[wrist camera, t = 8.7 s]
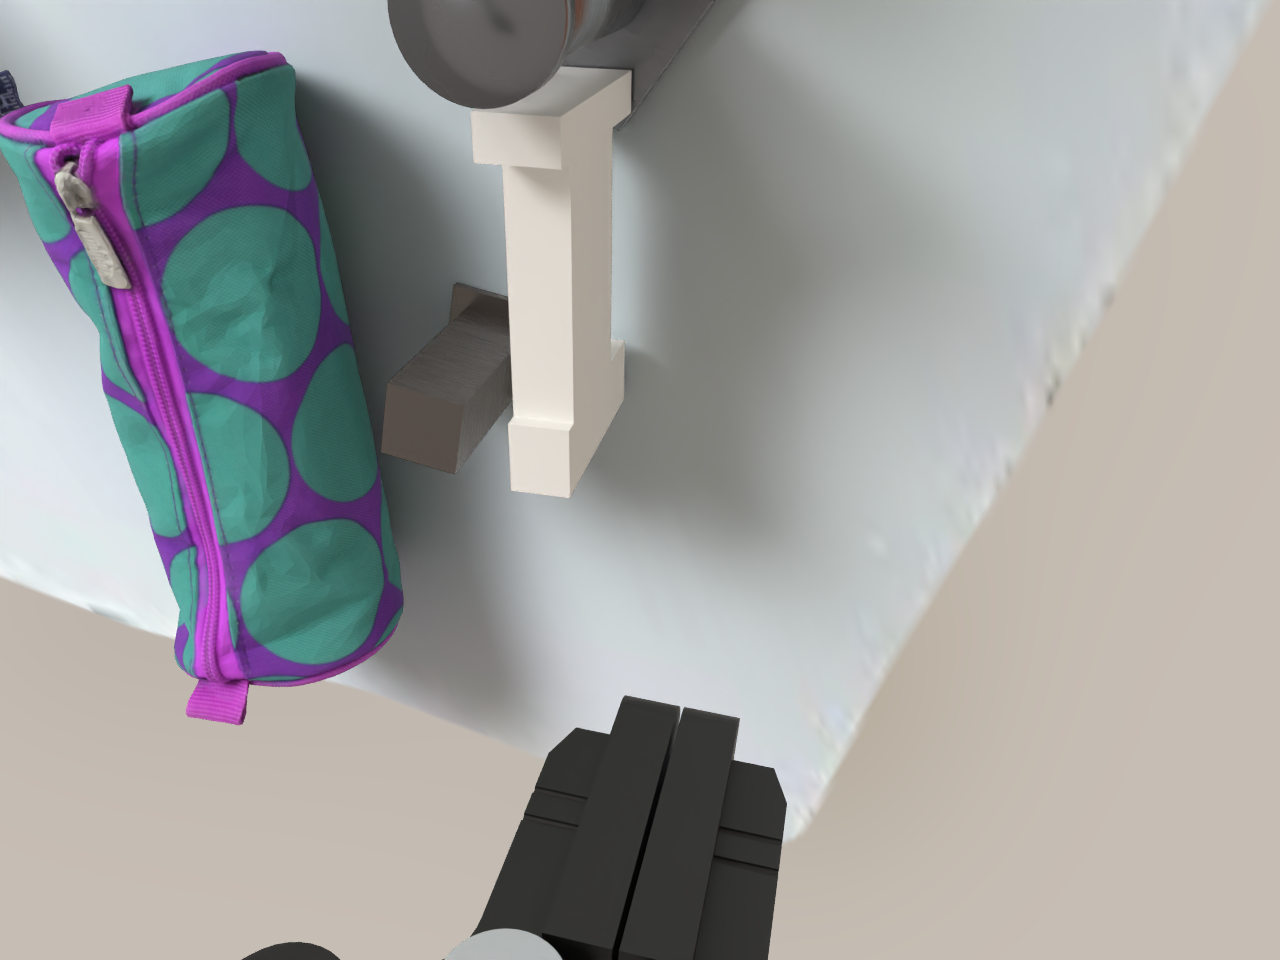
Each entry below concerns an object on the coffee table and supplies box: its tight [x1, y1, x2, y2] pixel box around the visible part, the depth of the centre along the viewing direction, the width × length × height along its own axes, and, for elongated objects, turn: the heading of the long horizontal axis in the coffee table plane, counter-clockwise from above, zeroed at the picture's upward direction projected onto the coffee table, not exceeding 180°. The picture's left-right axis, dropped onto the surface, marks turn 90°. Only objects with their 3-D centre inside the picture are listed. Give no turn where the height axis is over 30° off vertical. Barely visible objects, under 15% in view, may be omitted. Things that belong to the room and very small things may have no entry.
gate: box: [471, 66, 632, 498], centre depth 30 cm, size 11×2×8 cm, turn 178°
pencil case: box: [0, 51, 403, 725], centre depth 35 cm, size 21×9×10 cm, turn 3°
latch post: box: [381, 283, 513, 474], centre depth 34 cm, size 4×4×7 cm
